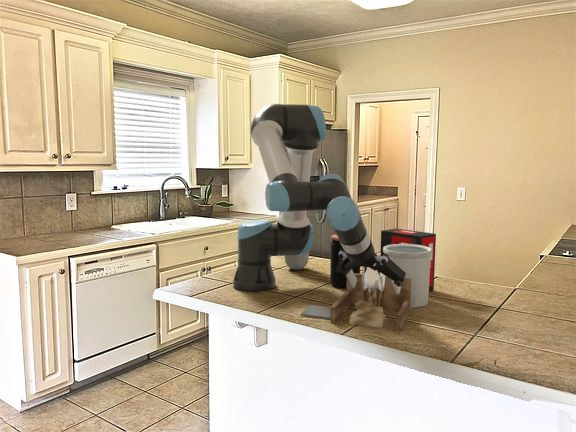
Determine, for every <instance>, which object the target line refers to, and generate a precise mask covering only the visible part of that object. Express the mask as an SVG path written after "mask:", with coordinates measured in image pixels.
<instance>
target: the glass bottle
mask: <svg viewBox="0 0 576 432" xmlns="http://www.w3.org/2000/svg"><path fill="white" fill-rule="evenodd" d="M306 217H307V215H306ZM307 218H308V217H307ZM309 257H310V251H309V252H308V253H307V254H303V255H297V256H295V255H288V256H284V262H285V264H286V266H287V267H288V268H290V269H291V270H295V271H299V270H303V269H304V268H306V266H307V265H308V263H309V259H310V258H309Z"/></svg>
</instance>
